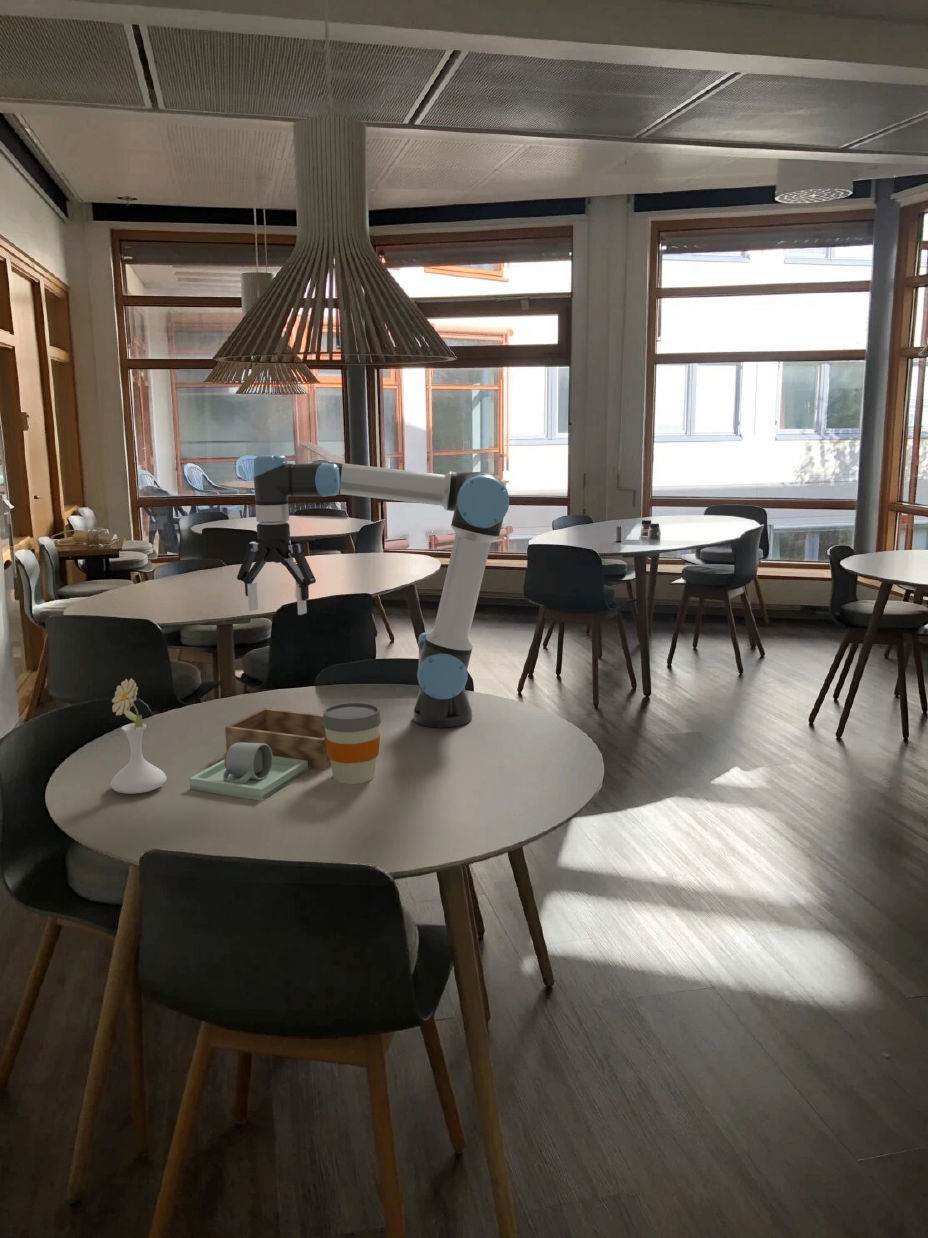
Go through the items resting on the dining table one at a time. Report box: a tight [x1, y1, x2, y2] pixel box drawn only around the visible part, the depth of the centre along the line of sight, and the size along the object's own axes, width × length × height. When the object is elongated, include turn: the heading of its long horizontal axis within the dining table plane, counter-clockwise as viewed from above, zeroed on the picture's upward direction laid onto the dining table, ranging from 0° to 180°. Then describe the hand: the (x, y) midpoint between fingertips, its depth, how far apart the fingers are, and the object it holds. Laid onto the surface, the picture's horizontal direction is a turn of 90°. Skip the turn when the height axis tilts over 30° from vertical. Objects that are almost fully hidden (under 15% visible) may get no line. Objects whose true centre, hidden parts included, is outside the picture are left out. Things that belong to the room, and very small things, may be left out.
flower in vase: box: [110, 678, 168, 795], centre depth 205 cm, size 13×11×25 cm
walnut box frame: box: [224, 707, 332, 771], centre depth 229 cm, size 26×16×7 cm, turn 68°
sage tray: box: [189, 756, 309, 802], centre depth 212 cm, size 18×18×2 cm
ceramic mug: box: [223, 742, 273, 784], centre depth 210 cm, size 11×8×8 cm
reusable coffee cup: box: [322, 702, 382, 785], centre depth 213 cm, size 13×13×15 cm
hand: (277, 611), depth 232 cm, fingers open, 13 cm apart
